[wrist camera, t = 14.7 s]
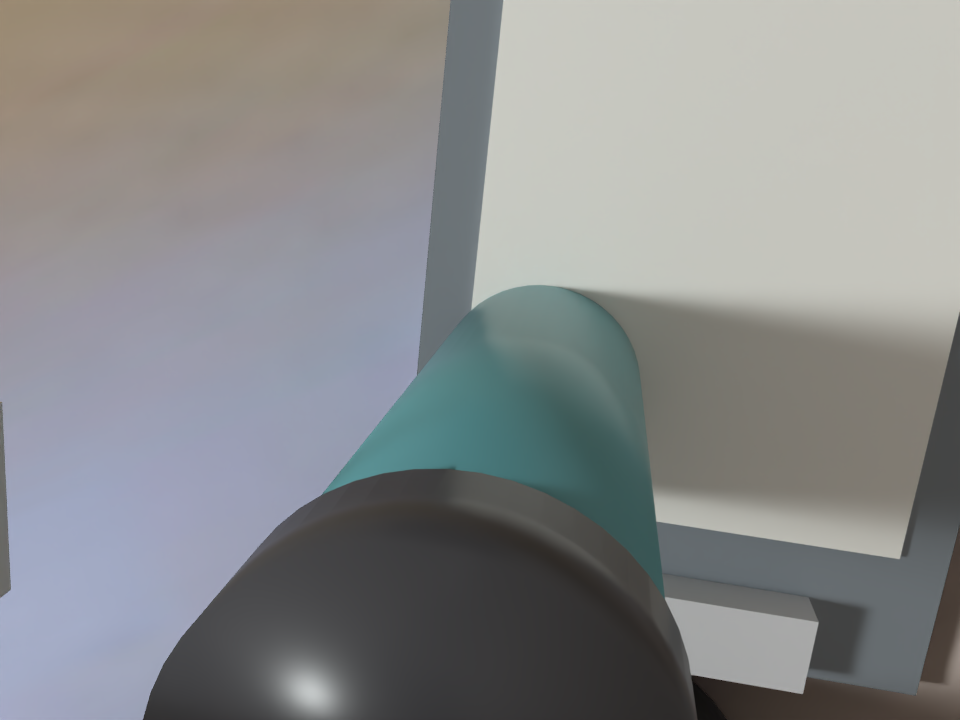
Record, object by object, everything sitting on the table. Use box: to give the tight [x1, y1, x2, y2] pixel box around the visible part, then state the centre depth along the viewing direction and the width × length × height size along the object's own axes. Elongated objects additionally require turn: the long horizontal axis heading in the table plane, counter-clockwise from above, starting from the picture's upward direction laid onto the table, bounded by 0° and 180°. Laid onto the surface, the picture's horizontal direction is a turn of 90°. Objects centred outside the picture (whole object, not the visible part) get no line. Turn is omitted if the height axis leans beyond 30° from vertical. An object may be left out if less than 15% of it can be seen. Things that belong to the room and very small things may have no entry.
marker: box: [143, 285, 697, 720], centre depth 13 cm, size 4×4×12 cm
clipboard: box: [417, 0, 960, 696], centre depth 17 cm, size 18×11×2 cm, turn 175°
